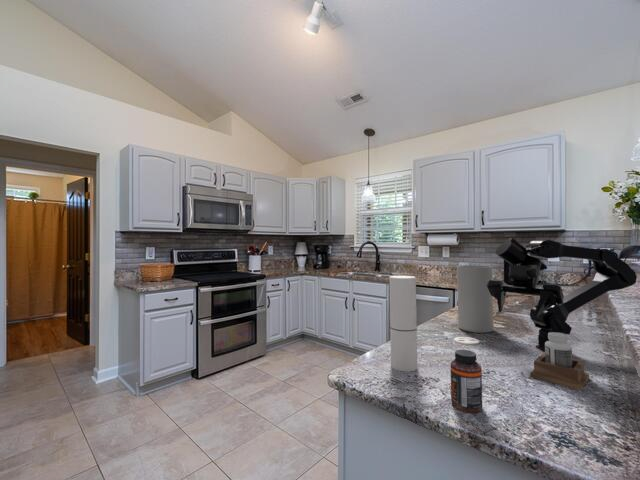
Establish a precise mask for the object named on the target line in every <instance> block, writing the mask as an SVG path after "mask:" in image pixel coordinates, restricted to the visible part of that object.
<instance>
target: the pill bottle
mask: <svg viewBox="0 0 640 480" xmlns="http://www.w3.org/2000/svg"><path fill="white" fill-rule="evenodd" d="M548 339H549V341H546V342H545V351H544V353H545V358H546V363H550V364H554V365H558V366H563V367H567V368H571V369H573V367H572V359H573V348H572V345H571V344H570V343H567V342H569V336H568V334H563V333H557V332H549V333H548Z"/></svg>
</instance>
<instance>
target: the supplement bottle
mask: <svg viewBox="0 0 640 480" xmlns="http://www.w3.org/2000/svg"><path fill="white" fill-rule="evenodd" d="M482 371H483V370H482V366H481V365H480V363H478V362H477V354H476V352H475V351H472V350H469V349H457V350H455V351H454V359H453V360H452V361H451V362H450V400H451V405H452V406H453V407H454V408H456V409H458V410H459V411H462V412H465V413H470V414H471V413H472V414H473V413H479V412H481V411H482V410H483V374H482V373H483V372H482Z"/></svg>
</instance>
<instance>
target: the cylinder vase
mask: <svg viewBox="0 0 640 480" xmlns="http://www.w3.org/2000/svg"><path fill="white" fill-rule="evenodd" d="M456 272H457V273H456V274H457V275H456V278H457V279H456V280H457V316H458V317H457V318H458V319H457V321H458V322H457V323H458V324H457V325H458V328H459V329H461V330H462V331H464V332H468V333H469V332H470V333H475V334H489V333H491V332H493V331H494V329H495V328H494V297H493V296H491V294H490V292H489V290H488V287H487V283H488V281H489V280H493V266H490V265H477V264H476V265H470V264H469V265H463V264H461V265H457V266H456Z"/></svg>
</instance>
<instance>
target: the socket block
mask: <svg viewBox="0 0 640 480" xmlns="http://www.w3.org/2000/svg"><path fill="white" fill-rule="evenodd" d="M585 364H586V363H585V361H582V360H577V359H573V358H572V367H573V369H571V368H567V367H563V366H558V365H554V364H550V363H546V358H545V352H542V353H541V354H540V355H539V356H538V357H537V358H536V359H534V361H533V369H532V370H531V371H530V372H529V377H530V378H534V379H536V380H541V381H545V382H547V383H548V382H549V383H552V384H556V385H559V386H563V387H566V388H570V389H574V390H577V391H582V390H584V389H583V388H584V387H585V385H586V384H587V382H588V380H589V379H590V373H588V372H587V373H586V369H585V367H586V365H585Z"/></svg>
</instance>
